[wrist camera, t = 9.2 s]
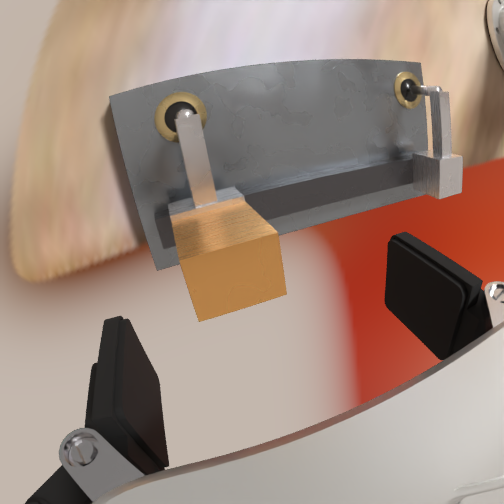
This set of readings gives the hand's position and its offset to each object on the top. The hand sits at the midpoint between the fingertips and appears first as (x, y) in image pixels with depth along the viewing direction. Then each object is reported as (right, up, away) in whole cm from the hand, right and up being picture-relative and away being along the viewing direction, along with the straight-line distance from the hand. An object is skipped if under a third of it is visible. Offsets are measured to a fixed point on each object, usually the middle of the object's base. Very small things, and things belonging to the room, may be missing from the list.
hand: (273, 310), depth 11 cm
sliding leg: (-4, +6, +9) cm, 11 cm away
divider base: (+3, +10, +12) cm, 16 cm away
